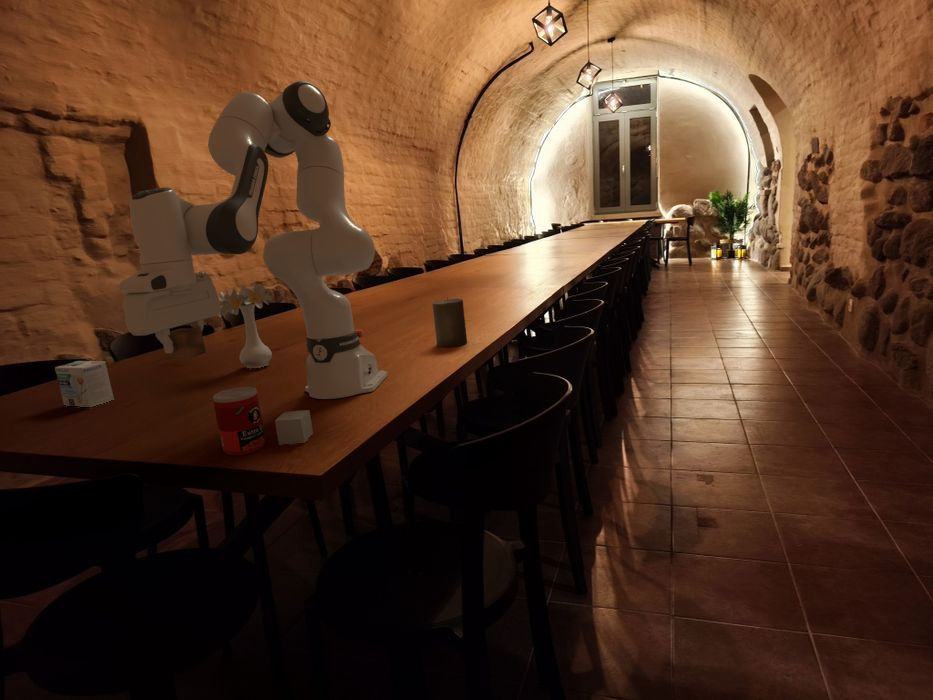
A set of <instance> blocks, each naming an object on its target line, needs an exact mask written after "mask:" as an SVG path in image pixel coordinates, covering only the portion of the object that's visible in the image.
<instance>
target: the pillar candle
mask: <svg viewBox="0 0 933 700" xmlns="http://www.w3.org/2000/svg"><path fill="white" fill-rule="evenodd" d="M432 312H433V322H434V329H435V330H434V331H435V338H436V340H435V341H436V345H437V347H440V348H451V347H458V346H459V347H460V346H463V345H465V344H467V343H468V339H467V338H468V337H467V328H466V319H465V308H464V299H462V298H449V297H448V296H447V297H446V299H441V300H435V301H433V302H432Z"/></svg>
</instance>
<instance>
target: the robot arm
mask: <svg viewBox="0 0 933 700" xmlns="http://www.w3.org/2000/svg"><path fill="white" fill-rule="evenodd" d="M329 110H330V109H329V105H328V103H327V99H326V97H325V95H324V94H323V92H322V91H321V90H320V89H319V88H318V87H317V86H316V85H314V84H313V83H311V82H309V81H307V80H299V81H295V82H293V83H291V84H289V85H287V86H286V87H285V89H284V90H283V91H282V92H281V93H280V94H279V95H278V96H277V97H275V98H274V99H273V101H272V102H268V101H267V100H265V98H263V97H262V96H261V95H259V94H257V93H254V92H249V91H243V92H239V93H237V94H236V95H235V96H234V97H233V98H232V99H231V100H230V101H229V102H228V103H227V104H226V105H225V107H224V108H223V109H222V111H221V113H220V115H219V116H218V118H217V119H216V121H215V123H214V125H213V127H212V129H211V131H210V133H209V137H208V142H207V146H208V147H207V149H208V151H209V154H210V156H211V159H213V162H215V163H216V164H217V166H218V167H219V168H221V169H222V170H223V171H224V172H226V173H228V174H230V175H232V176H234V177H235V178H234V182H233V185H232V189H231V192H230V195H229V196H228V197H226V199H224V200H221V201H219V202H216V203H207V204H197V205H195V204H194V203H192V202H189V201H187V200H185V199H183V198H182V197H180V196H179V195H178V194H177V193H176V191H175V190H174V189H173V188H172V187H171V188H170V187H157V188H156V187H155V188H153V189H147V190H146V189H145V190H142V191H138V192H136V193H134V195H132V196H131V198H130V202H129V215H130V216H129V217H130V224H131V229H132V233H133V237H134V238H133V239H134V242H135V244H136V245H137V247H138V250H139V265H140V270H137V272H135V273H134V274H132V275H131V276H129V277H127V278H125V279H123V280H121V281H120V283H119V289H120V292H121V293H122V294H124V296H123V300H122V308H123V309H122V310H123V315H124V321H125V325H126V328H127V331H128V332H129V333H130V334H132V336H141V337H142V336H148V335H152V334H155V338H156V339H157V340H158V341H159V342H160V343H161V344H162V346H163V351H164V350H165V351H164V353H165V352H166V353H173V352H176V351H177V350H178V348H177V343H176V342H172V341H171V339H170V338H169V336H168V335H170V332H171V331H170V330H171V329H174V328H177V327H181V326H185V325H187V324H189V326H190V327H192V328H201V331H202V332H203V330H204V326H205V322H204V320H207V319H210V318H213V317H218V316H221V315H220V312H221V307H222V306H221V305H220V301H219V300H220V299H219V298H220V297H219V294H218V291H217V289H216V287H215V284H214V283H213V278H212V277H211V276H210V274H209V273H206V272H205V271H198V272H195V268H194V263H193V257H192V256H201V255H206V256H207V255H209V256H210V255H217V254H218V255H219V254H220V255H221V254H224V255H243V254H246V253H247V252H249V251H250V250H251V248H252V247H253V246H254V244H255V243H256V242H257V241H256V240H257V238H258V234H259V215H260V210H261V206H262V202H263V198H264V193H265V188H266V183H267V180H268V175H269V160H268V156H267V155H269V156H271V157H273V158H278V159H281V158H287V157H289V156H290V155H292V154H293V153H295V155H296V156H295V157H296V158H297V169H296V171H297V172H296V173H297V174H296V198H295V199H296V200H295V201H296V206H297V208H298V211H299V213H301V214H302V215H303V216H304V217H306V218H307V219H308V220H311V221H313V222H316V223H318V224H319V226H318V228H313V229H303V230H293V231H292V230H291V231H287V232H283V233H280V234H276V235H272V236H271V237H268V239H267V241H266V242H265V244H264V248H263V250H262V251H263V253H262V254H263V255H262V256H263V261H264V265H265V267H266V268H267V270H268V271H269V273H270V274H272V276H274V277H276V278H277V279H279V280H280V281H282V282H283V283H284V284H286V285H287V286H288V288H289V289H290V290H291V291H292V292H293V294H294V296H296V298H297V300H298V302H299V305H300V308H301V310H302V315H303V319H304V324H305V330H306V333H307V334H306V335H307V336H306V338H305V341H306V344H305V345H306V349H307V353H309V355H308V356H307V358H306V374H307V376H306V379H307V385H306V386H305V387H304V391H305V392H307V393H308V394H309V397H311V398H312V399H313V398H314V399H318V400H334V399H342V398H348V397H352V396H355V395H358V394H359V395H360V394H364V393H365V394H366V393H370V392H374V391H376V389H377V388H378V386H379V385H380V384H381V383H383V381H384V380H385V379H386V378H387V377H388V375H389V374H388V371H386V370H383V369H378V361H377V359H376V358H377V357H376V356H375V354H373V353H372V352H370V351H369V350H367V348H365V347H364V346H362V345H361V342H360V338H361V339H362V338H364V330H363V329H355V327H354V326H355V325H354V319H353V311H352V305H351V301H350V300H349V299H348V297H346V296H345V295H344V294H343V293H340V292H338V291H336V290H333V289H331V288H329V287H328V286H327V284H326V283H325V281H324V278H323V277H333V276H346V275H347V276H348V275H352V274H355V273H359V272H362V271H366V270H368V269H370V267H371V265H372V263H373V262H374V260H375V255H376V248H375V247H376V246H375V243H374V240H373V238H372V236H371V235H370V234H369V232H367V230H365V229H364V228H363V227H361V226H359V225H358V224H356V223H355V222H354V221H353V219H351V217H350V215H349V214H348V213H349V212H348V211H347V207H346V200H345V172H344V170H345V168H344V161H343V160H344V159H343V155H342V152H341V148H340V144H339V143H338V142H337V141H336V140H335V139H334V138H332V137H331V136H330V135H328V133H329V131H330V129H331V125H332V123H331V119H330V118H329V117H330V111H329ZM125 294H126V295H125Z"/></svg>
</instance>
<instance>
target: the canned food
mask: <svg viewBox="0 0 933 700" xmlns="http://www.w3.org/2000/svg"><path fill="white" fill-rule="evenodd" d="M212 402H213V408H214V413H215V418H216V422H217V428H218V432H219V437H220V442H221V447H222V451H223V452H224V453H225V454H226V455H228V456H244V455H248V454H249V455H250V454H252V453H255V452H257V451H259V450H261V449H263V448H264V446H265V444H266V435H265V430H264V423H263V419H262V412H261V406H260V400H259V396H258V391H257V388H255V387H251V386H238V387H237V386H236V387H233V388H232V387H230V388H227V389H225V390H221V391H219V392H217V393H215V394H214V395H213V396H212Z"/></svg>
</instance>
